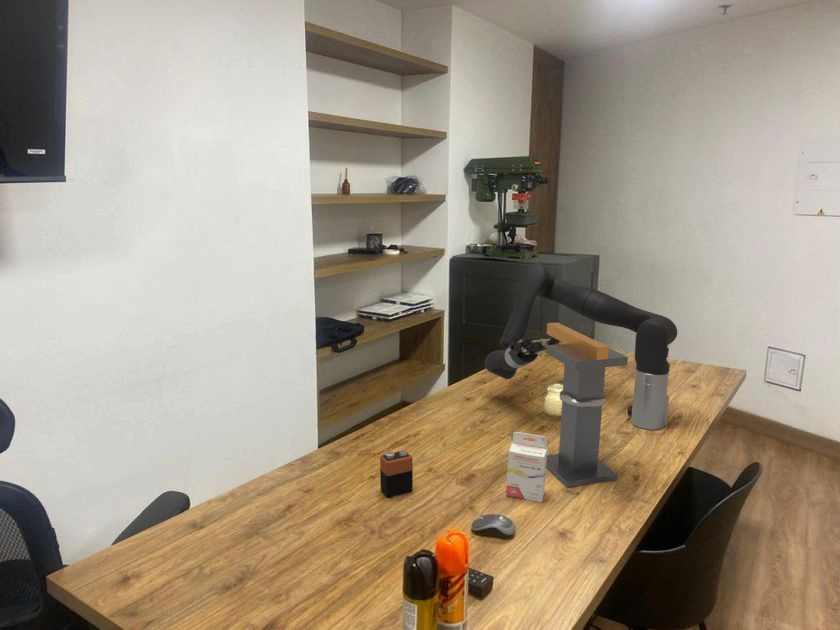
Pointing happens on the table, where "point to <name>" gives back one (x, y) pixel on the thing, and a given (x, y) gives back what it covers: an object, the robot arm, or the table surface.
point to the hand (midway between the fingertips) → (544, 339)
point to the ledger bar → (578, 341)
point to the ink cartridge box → (527, 467)
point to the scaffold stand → (581, 417)
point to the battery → (396, 473)
